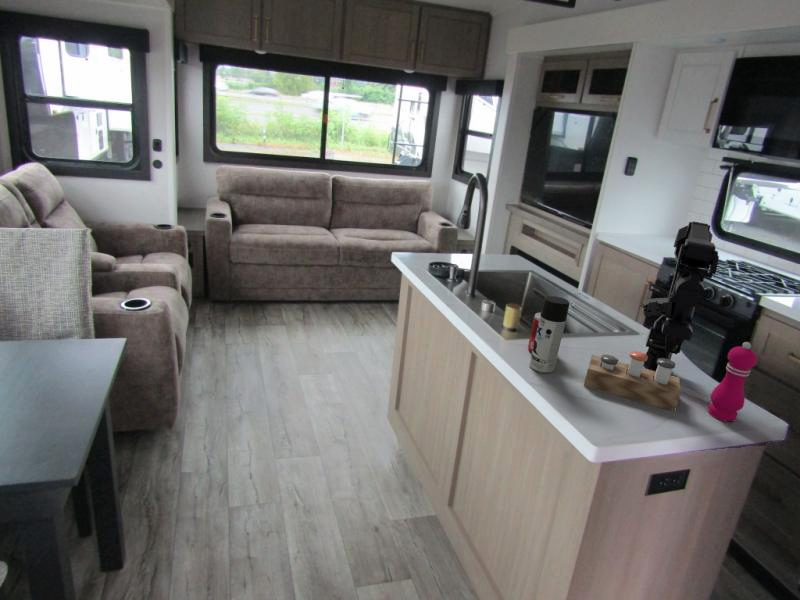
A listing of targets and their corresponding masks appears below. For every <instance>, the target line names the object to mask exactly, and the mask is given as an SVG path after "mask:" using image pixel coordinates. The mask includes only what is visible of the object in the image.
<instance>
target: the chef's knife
mask: <svg viewBox="0 0 800 600" xmlns="http://www.w3.org/2000/svg"><path fill="white" fill-rule="evenodd" d="M680 392H682V393H685V394H687V395H690V396H693V397H694V398H697V399H699V400H701V401H705V402H707V403H710V404H711V403H712V401H711V398H708V397H705V396H704V395H702V394H700V393H699V392H698V393H697V392H696V391H694V390H692V389H689V388H688V387H685V386H684V385H682V384H680Z"/></svg>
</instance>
